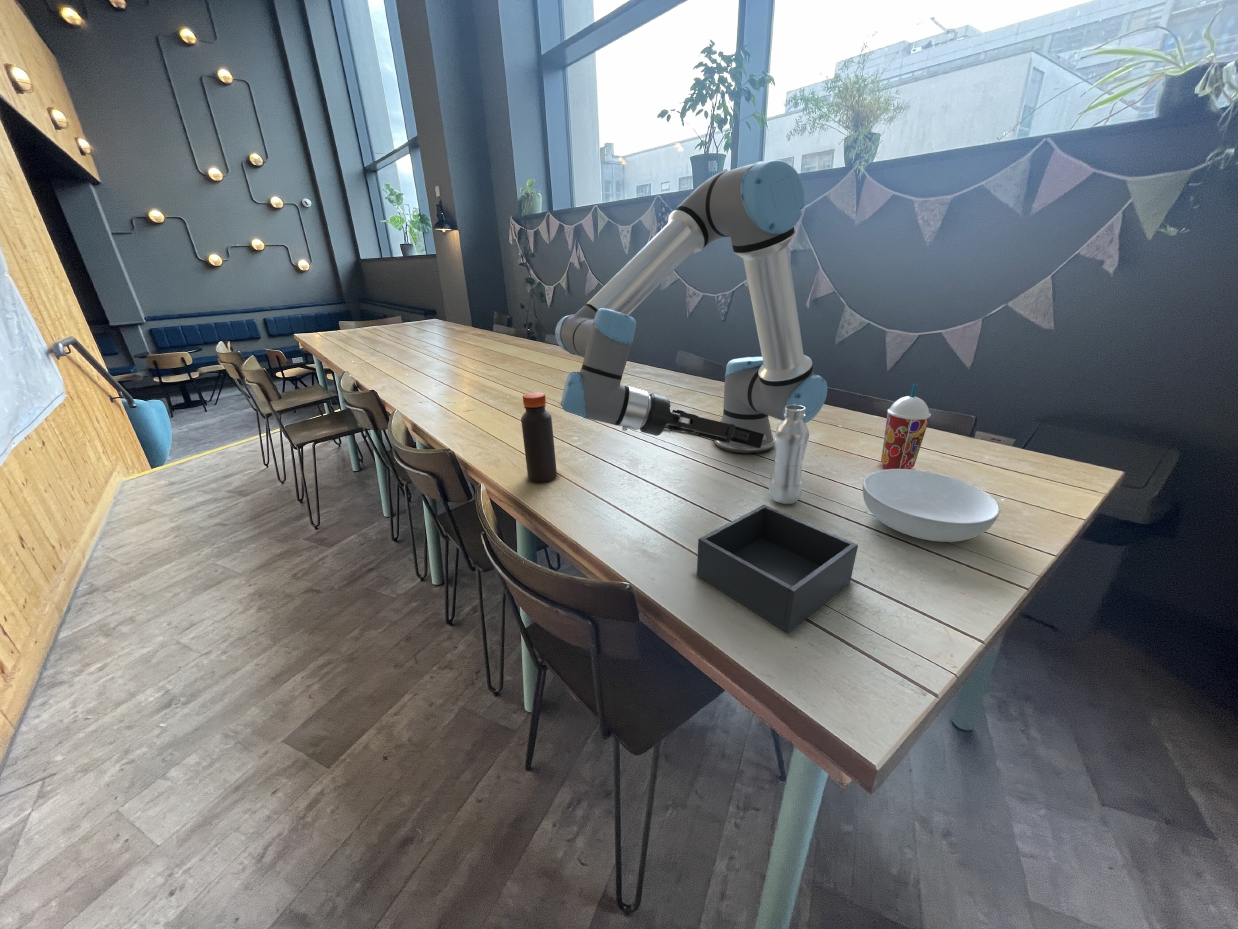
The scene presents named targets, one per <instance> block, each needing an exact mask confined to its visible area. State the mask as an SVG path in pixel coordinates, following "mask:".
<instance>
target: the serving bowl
mask: <svg viewBox="0 0 1238 929" xmlns="http://www.w3.org/2000/svg"><path fill="white" fill-rule="evenodd" d="M862 496H863V500H864V504H865V505H866V507H867V509H868V510H869V512H870V513H871V514H872V515H873V516H874V517H875V518H876V519H877V520H878V521H880V523H882V524H884V525H885V526H887V527H889V528H891V529H893V530H894V531H896V532H899V533H901V534H904V535H907V536H910V537H913V538H917V539H920V540H927V541H933V542H942V543H954V542H961V541H968V540H970V539H973V538H976V537H978V536H980V535H982V534H984V533H985V532H987V531H988V530H989V529H990V528H992V527H993V525H994V524H995V522H996V520H997V519H998V517H999V516H1000V512H1001V507H1000V505H999V502H997V500H996V499H995V498H994V497H993V496H992V495H990V494H989V493H988V492H987V491H985V490H983V489H981V488H980V487H977V486H976V485H974V484H971V483H969V482H967V481H965V480H961V479H959V478H955V477H952V476H949V475H946V474H941V473H938V472H931V471H926V470H919V469H912V468H911V469H888V470H887V469H880V470H876V471H874V472H871V473H869V474H868V475H866V476H865V477H864V479H863V481H862Z"/></svg>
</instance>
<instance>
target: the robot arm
mask: <svg viewBox="0 0 1238 929" xmlns="http://www.w3.org/2000/svg"><path fill="white" fill-rule="evenodd" d="M805 194H806V193H805V188H804V184H803V181H802V178H801V176H800V174H799V173H798V171H797V170H796V168H795V167H794V166H792V165H790V164H789V163H788V162H787V161H783V160H780V159H772V160H765V161H764V160H760V161H757V162H753V163H750V164H746V165H744V166H740V167H736V168H733V169H730V170H723V171H720V172H717V173H716V174H714V175H712V176H710V177H709V178H708V179H706V180H705V181H704V182H703V183H701V184H700V185H699V186H697V187H696V188H695V189H694V190H693V191H692V192H691V193H690V194H689V195H688V196H687V197H686V198H685V199H684V200H683V201H682V202H681V203H679V205H678V206H676V208H675V209H674V210H673V211H671V213H670V214H669V216H668V222H667V224H666V225H665V226H663V227H662V229H661V230H660V231H659V232H658V233H657V234H656V235H655V236H654V237H652V238H651V239H650V240H649V241H648V242H647V243H646V244H645V246H643V247H642V248H641V249H640V251H638V252H637V254H635V255H634V256H633V257H632V258H631V259H630V260H629V261H628V262H627V263H626V264H625V265H624V266H623V267H622V268H621V269H620V270H619V271H618V272H617V273H616V274H615V275H614V276H613V277H611V279H609V281H608V282H607V283H605V285H604V286H603V287H602V288H601V289H600V290H599V291H598V292H597V293H596V294H594V296H593V297H592V298H591V299H590V300H588V301H587V303H585V304H584V305H583V306H582V307H581V308H579V310H578V311H577V312H576V313H575V314H569V315H568V314H567V315H566V316H564V317H561V319H560V320H559V321H558V322H557V324H556V326H555V329H554V330H555V331H554V336H555V340H556V343H557V345H558V346H559V347H560V348H561V349H562V350H564V351H565V352H567V353H569V354H571V355H572V356H578V357H581V358H582V359H583V361H582V365H581V368H580V370H579V371H570V372H569V373H568V374H567V377H566V380H565V383H564V385H563V386H564V387H563V390H562V396H561V401H560V405H561V408H562V409H563V411H564V412H565V413H569V414H572V415H575V416H577V417H581V418H583V419H588V420H592V421H596V422H600V423H605V424H608V425H613V426H619V427H621V428H622V429H621V430H622V431H623V432H627V431H628V429H630V430H633V431H638V430H639V431H640V432H641V433H644V434H648V435H651V436H655V437H657V436H661V435H662V433H663V432H664V430H668V431H672V432H679V433H683V432H684V433H687V434H689V435H690V434H692V435H695V436H696V435H698V436H700V437H702V438H707V439H711V440H714V444H715V445H716V446H717V447H718V448H720V449H721V450H724V451H728V452H731V453H738V454H760V453H764V452H767V451H769V450H771V449H772V447H773V446H774V436H773V433H772V427H771V423H770V420H769V417H772V418H774V419H777V420H780V421H781V422H782V421H783V420H784V419H785V417H784V413H785V407H786V406H787V405H800V406H803V407H805V418H803V421H804V423H805V424H807V423H809V422H810V421H812V420H813V419H814V418H815V417H816V416H817V415H818V414H819V413H820V412H821V410H822V408H823V406H824V405H825V403H826V400H827V396H828V383H827V381H826V379H825V378H824V377H822V376H821V375H818V374H815V371H814V366H813V360H812V359H811V357H810V356H808V355H806V354H804V348H803V342H802V334H801V327H800V319H799V313H798V312H799V311H798V306H797V300H796V292H795V286H794V278H793V273H792V263H791V258H790V251H789V244H790V242H791V241H792V240H793V237H794V236H795V234H796V231H795V226H796V225H797V224H798V222H799V221H800V219H801V217H802V215H803V212H802V210H803V209H804V208H805V202H806V200H805V199H806V197H805ZM721 238H730V241H731V246H732V252H733V254H734V255H736V256H738V257H739V258H741V259H742V261H743V266H744V272H745V276H746V282H747V286H748V292H749V296H750V302H751V306H752V311H753V318H754V323H755V328H756V332H757V338H758V342H759V348H760V353H761V356H747V357H739V358H733V359H731V360H729V361H728V363H727V364H726V368H725V374H724V388H723V389H724V390H723V391H724V392H723V410H722V417H721V419H720V421H718V420H714V419H710V418H706V417H701V416H698V415H697V414H694V413H689V412H687V411H684V410H681V409H672V411H671V401H670V399H669V398H668V397H666V396H664V395H659V394H657V393H654V392H653V393H650V394H649V392H648V391H646V390H643V389H639V388H637V387H632V386H627V385H623V384H621V382H622V379H623V374H624V371H625V368H626V366H627V362H628V359H629V356H630V352H631V348H632V347H633V343H634V342H635V341H634V337H635V332H636V328H637V319H635V317H633V316H631V315H630V314H631V313H633V311H635V310H636V308H638V307H639V305H641V304H642V303H643V302H644V300H646V299H647V298H648V297H649V296H650V295H651V294H652V293H653V292H654V291H655V290H656V289H657V288H658V287H659V286H660V285H661V284H662V283H663V282H664V281H665V280H666V279H667V278H668V277H669V276H670V275H671V274H672V273H673V272H674V271H675V270H676V269H677V268H678V267H679V266H680V265H681V264H682V263H683V262H684V261H685V260H686V259H687V258H688V257H689V256H690V255H691V254H692V253H700V252H701V251H702V250H703V249H704V248H705V247H707V246H708V245H709V244H710V243H713V242H714V241H716V240H719V239H721Z"/></svg>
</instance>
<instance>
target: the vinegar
mask: <svg viewBox="0 0 1238 929" xmlns="http://www.w3.org/2000/svg"><path fill="white" fill-rule="evenodd" d="M522 402H523V408H524V409H525V412H524V413H523V414H522V415H521V418H520V422H521V430H522V431H521V432H522V439H523V440H522V441H523V447H524V448H523V449H524V455H525V456H524V457H525V461H526V462H525V465H526V473H527V478H528V480H529V481H531V482H533V483H538V484H540V483H548V482H550V481H553V480H554V479H556V477H557V474H558V472H557V462H556V461H557V460H556V452H555V440H554V429H553V421H552V420H553V419H552V418H553V417H552V414H550V412H548V411H547V410H546V407H547V405H546V404H547V400H546V394H545V393H544V392H541V391H540V392H539V391H537V392H536V391H535V392H534V391H533V392H528V393H525V394H523V395H522Z"/></svg>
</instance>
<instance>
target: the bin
mask: <svg viewBox="0 0 1238 929" xmlns="http://www.w3.org/2000/svg"><path fill="white" fill-rule="evenodd" d="M858 547H859V543H858V544H857V543H855V542H853V541H851V540H848V539H846V538H844V537H841V536H839V535H836V534H834V533H833V532H832V533H831V532H829V531H827V530H825V529H823V528H820V527H818V526H815V525H813V524H810V523H808V522H806V521H803V520H801V519H799V518H797V517H795V516H791V515H789V514H787V513H785V512H782V511H780V510H778V509H776V508H773V507H770V506H768V505H766V504H762V505H761V506H758V507H756V508H754V509H753V510H751V511H749V512H746V513H745V514H743V515H741V516H739V517H738V518H735V519H733V520H732V521H730V522H727V523H726V524H724V525H722V526H720V527H718V528H716V529H714V530H712V531H710V532H709V533H706V534H704V535H703V536H701V537H699V538H697V559H696V561H697V562H696V577H698V578H700V580H702V581H704V582H706V583H707V584H709V585H710V586H712V587H714V588H715V589H716V590H718V591H720V592H721V593H723V594H725V595H726V596H728V597H729V598H731V599H732V600H734V601H736V602H737V603H739V604H741V605H742V606H744V607H745V608H747V609H748V610H750V611H752V612H753V613H755V614H756V615H757V616H759V617H761V618H763V619H764V620H765V621H767V622H769V623H770V624H772V625H773V626H776V628H779V629H780V630H782V631H783V632H784V633H786V634H790V633H791V632H792V631H793V630H794V629H795V628H797V627H798V626H800V625H801V624H802V623H803V622H804V621H805V620H807V619H808V618H809V617H810V616H812V615H813V614H814V613H816V611H818V610H819V609H820V608H822V607H823V606H824V605H825V604H827V603H828V602H829V601H830V600H831V599H833V598H834V597H835V596H836V595H837V594H839V593H840V592H841V591H843V589H845V588H846V587H848V585H850V584H851V581H852V576H853V571H854V567H855V562H856V557H857V552H858Z"/></svg>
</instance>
